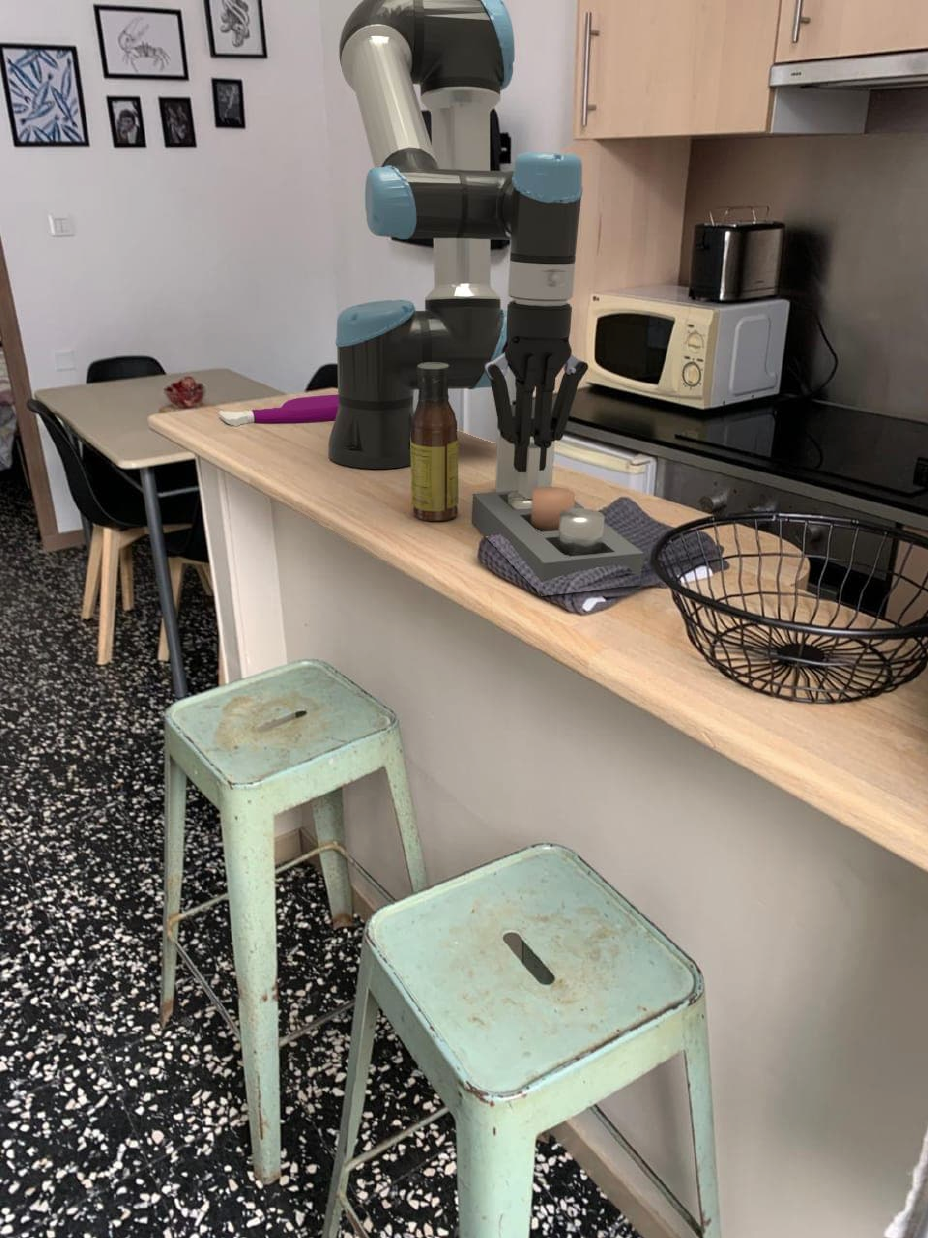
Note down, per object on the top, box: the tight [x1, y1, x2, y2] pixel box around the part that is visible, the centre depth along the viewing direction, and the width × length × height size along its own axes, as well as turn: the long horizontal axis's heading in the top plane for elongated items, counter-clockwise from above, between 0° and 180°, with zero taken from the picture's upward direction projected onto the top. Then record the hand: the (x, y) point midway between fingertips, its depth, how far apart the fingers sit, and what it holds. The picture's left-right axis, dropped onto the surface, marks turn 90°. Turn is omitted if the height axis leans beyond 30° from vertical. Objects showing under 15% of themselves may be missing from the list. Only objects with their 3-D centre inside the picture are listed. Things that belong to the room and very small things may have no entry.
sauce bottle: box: [410, 362, 459, 522], centre depth 120 cm, size 7×6×20 cm
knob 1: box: [508, 491, 532, 510], centre depth 120 cm, size 5×5×4 cm
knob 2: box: [557, 507, 606, 556], centre depth 105 cm, size 5×5×4 cm
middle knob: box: [531, 486, 576, 531], centre depth 112 cm, size 5×5×4 cm
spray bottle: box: [218, 394, 338, 427], centre depth 170 cm, size 3×11×24 cm
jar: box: [494, 404, 556, 492], centre depth 132 cm, size 9×8×12 cm
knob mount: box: [471, 491, 644, 583], centre depth 113 cm, size 24×12×4 cm, turn 18°
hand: (527, 495), depth 119 cm, fingers closed
